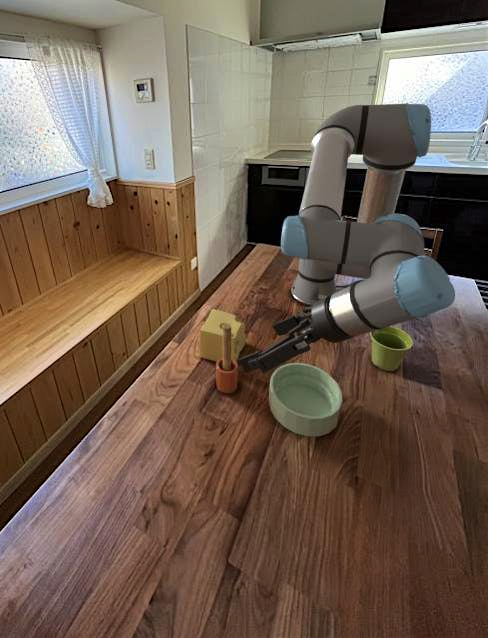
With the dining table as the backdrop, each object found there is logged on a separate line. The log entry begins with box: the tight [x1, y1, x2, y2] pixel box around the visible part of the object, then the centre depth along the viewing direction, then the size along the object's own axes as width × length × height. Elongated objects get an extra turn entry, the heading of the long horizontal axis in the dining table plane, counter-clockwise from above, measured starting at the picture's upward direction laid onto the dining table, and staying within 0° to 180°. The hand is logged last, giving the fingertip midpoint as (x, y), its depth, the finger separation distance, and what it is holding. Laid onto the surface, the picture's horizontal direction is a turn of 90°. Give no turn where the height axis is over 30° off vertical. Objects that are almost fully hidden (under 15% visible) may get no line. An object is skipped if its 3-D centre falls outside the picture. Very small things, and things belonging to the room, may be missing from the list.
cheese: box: [199, 308, 247, 363], centre depth 93 cm, size 10×11×10 cm
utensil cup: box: [215, 358, 239, 394], centre depth 82 cm, size 5×5×7 cm
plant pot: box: [369, 325, 414, 372], centre depth 86 cm, size 9×9×9 cm
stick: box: [223, 323, 231, 371], centre depth 80 cm, size 2×2×18 cm
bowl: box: [268, 362, 343, 437], centre depth 76 cm, size 15×15×6 cm
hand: (260, 346), depth 71 cm, fingers open, 13 cm apart
